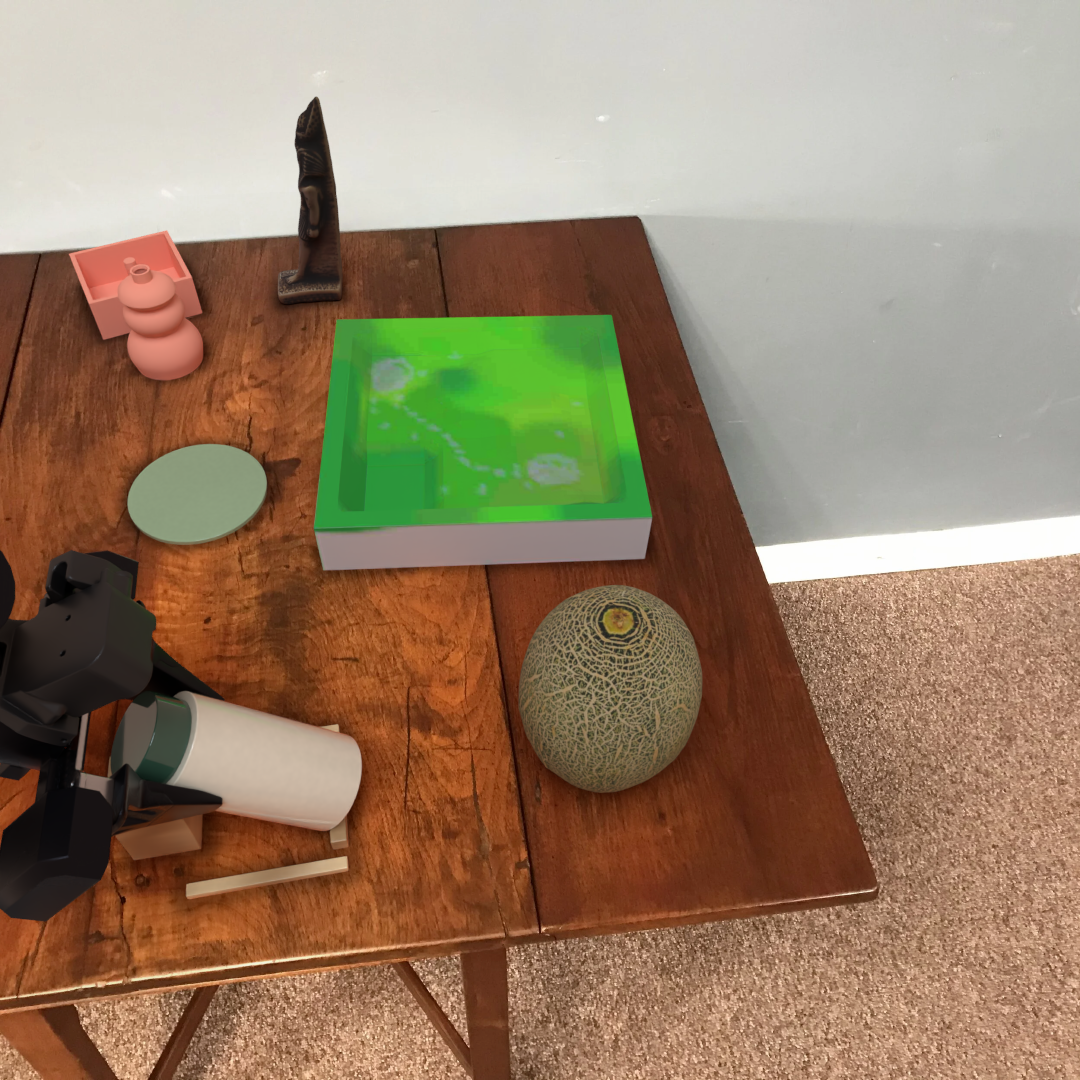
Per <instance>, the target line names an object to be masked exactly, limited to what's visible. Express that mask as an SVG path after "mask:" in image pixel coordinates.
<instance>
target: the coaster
mask: <svg viewBox="0 0 1080 1080" xmlns="http://www.w3.org/2000/svg"><path fill="white" fill-rule="evenodd" d="M267 494H268V478H267V475H266V471H265V470H264V467H263V466H262V464H261V463H260V462H259V461H258V459H256V458H255V457H254V456H253V455H252V454H250V453H249V452H247V451H245V450H243V449H241V448H238V447H235V446H231V445H227V444H221V443H204V444H203V443H201V444H194V445H193V444H192V445H189V446H184V447H181V448H178V449H175V450H173V451H170V452H168V453H166V454H163V455H162V456H160V457H158V458H157V459H155V460H154V461H152V462H151V463H149V464H148V465H147V466H146V467H145V468H144V469H143V470H141V471H140V473H139V474H138V475H137V476H136V477H135V479H134V481H133V482H132V484H131V486H130V489H129V491H128V496H127V504H126V505H127V512H128V515H129V516H130V519H131V521H132V522H133V524H134V526H135V527H136V528H137V529H138V530H139V531H140V532H141V533H143V534H144V535H145V536H147V537H149V538H150V539H153V540H156V541H158V542H161V543H164V544H169V545H175V546H176V545H178V546H190V545H191V546H193V545H200V544H206V543H210V542H213V541H217V540H219V539H222V538H225V537H227V536H229V535H231V534H233V533H235V532H236V531H238V530H240V529H242V528H243V527H244V526H246V524H248V523H249V522H251V520H252V519H254V517H256V515H257V514H258V512H259V511H260V510H261V508H262V507H263V505H264V502H265V500H266V498H267Z"/></svg>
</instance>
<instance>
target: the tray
mask: <svg viewBox="0 0 1080 1080" xmlns="http://www.w3.org/2000/svg"><path fill="white" fill-rule="evenodd" d="M335 322H336V323H335V332H334V340H333V349H332V359H331V367H330V377H329V384H328V385H329V387H328V394H327V405H326V414H325V421H324V422H325V423H324V431H323V441H322V450H321V460H320V469H319V475H318V476H319V477H318V485H317V486H318V487H317V495H316V505H315V511H314V513H315V514H314V522H313V532H314V536H315V541H316V544H317V549H318V553H319V557H320V562H321V567H322V570H323V571H345V570H346V571H347V570H348V571H349V570H373V569H400V568H401V569H402V568H432V567H454V566H455V567H457V566H483V565H484V566H485V565H510V564H512V565H513V564H538V563H561V562H562V563H565V562H593V561H594V562H597V561H622V560H624V561H625V560H626V561H627V560H645V559H646V555H647V548H648V543H649V537H650V532H651V527H652V521H653V513H652V509H651V504H650V500H649V494H648V488H647V483H646V479H645V473H644V469H643V463H642V459H641V453H640V447H639V445H638V439H637V434H636V428H635V424H634V420H633V419H634V418H633V414H632V409H631V405H630V399H629V394H628V389H627V384H626V380H625V379H626V378H625V375H624V374H625V373H624V369H623V365H622V359H621V354H620V349H619V344H618V339H617V334H616V329H615V325H614V319H613V315H612V314H581V315H580V314H578V315H577V314H576V315H524V316H523V315H520V316H516V315H515V316H467V317H466V316H464V317H462V316H460V317H406V318H404V317H403V318H402V317H401V318H399V317H398V318H397V317H396V318H350V319H349V318H347V319H346V318H345V319H344V318H343V319H336V321H335Z"/></svg>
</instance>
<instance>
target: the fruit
mask: <svg viewBox="0 0 1080 1080" xmlns="http://www.w3.org/2000/svg"><path fill="white" fill-rule="evenodd" d="M694 638H695V637H694V636H693V635H692V633H691V631H690V630H689V627H688V626H687V624H686V622H685V621H684V620H683V618H682V616H681V615H680V614H679V613H677V612H676V610H674V608H673V607H671V606H670V605H669V604H667V603H666V602H665V601H663V600H662V599H660V598H659V597H657V596H656V595H653V594H652V593H650V592H648V591H645V590H643V589H639V588H637V587H634V586H630V585H625V584H609V585H601V586H597V587H592V588H589V589H585V590H583V591H580V592H578V593H575V594H573V595H571V596H569V597H568V598H565V599H564V600H563V601H561V602H560V603H559V604H558V605H556V606H555V607H554V608H553V609H552V610H550V611H549V612H548V614H546V616H545V617H544V618H543V620H542V621H541V622H540V623H539V625H538V626H537V628H536V629H535V631H534V633H533V634H532V637H531V638H530V641H529V643H528V646H527V649H526V651H525V654H524V658H523V661H522V665H521V668H520V669H521V670H520V674H519V680H518V682H519V683H518V711H519V715H520V719H521V723H522V726H523V729H524V733H525V736H526V739H527V740H528V742H529V743H530V745H531V747H532V749H533V751H534V752H535V754H536V756H537V758H539V761H541V763H542V764H543V765H544V767H545V768H546V769H547V770H549V771H551V773H553V774H555V775H556V776H558V777H559V778H561V779H562V780H564V781H565V782H567V783H568V784H570V785H571V786H574V787H575V788H578V789H581V790H584V791H589V792H592V793H600V794H605V793H617V792H621V791H625V790H627V789H630V788H632V787H636V786H637V785H640V784H643V783H644V782H646V781H648V780H651V779H652V778H653V777H655V776H657V775H658V774H660V772H662V771H664V770H665V769H666V768H667V767H668V766H669V765H670V764H671V763H673V762H674V761H676V759H677V757H678V756H679V755H680V754H681V752H682V751H683V749H684V748H685V747H686V745H687V743H688V741H689V739H690V737H691V734H692V732H693V729H694V727H695V724H696V721H697V719H698V716H699V711H700V707H701V702H702V697H703V671H702V665H701V660H700V656H699V653H698V650H697V649H698V648H697V646H696V643H695V639H694Z"/></svg>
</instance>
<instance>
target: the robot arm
mask: <svg viewBox="0 0 1080 1080" xmlns="http://www.w3.org/2000/svg"><path fill="white" fill-rule="evenodd" d="M139 564H140V563H139V561H137V560H135V559H133V558H131V557H128V556H124V555H122V554H119V553H117V552H114V551H112V550H109V549H104V550H96V551H90V552H84V553H83V552H80V551H77V550H74V549H71V550H69V551H66V552H64V553H62V554H60V555H57V556H56V557H54V558H52V559H51V560H50V561H49V564H48V569H47V575H46V582H45V589H44V590H45V592H46V593H45V594H44V597H43V598H41V599H40V602H39V605H38V611H37V614H36V615H35V616H33V617H32V618H30V619H11V618H10V617H11V615H12V612H13V608H14V605H15V601H16V580H15V577H14V572H13V570H12V566H11V564H10V563H9V561H8V559H7V558H6V556H5V554H4V551H2V550H1V549H0V778H3V779H8V780H13V781H18V782H19V781H20V780H21V779H22V778H23V777H24V776H26V775H27V774H28V773H29V772H30V771H31V770H34V771H38V773H39V774H38V781H37V786H36V792H35V799H34V802H33V804H31V805H30V806H29V807H28V808H27V809H26V810H24V811H23V812H22V813H21V814H20V815H18V816H17V817H16V818H15V819H14V820H13V821H12V822H11V823H10V824H9V825H7V826H6V827H5V828H4V829H3V830H2V834H1V839H0V910H1V911H2V912H3V913H4V914H5V915H7V916H8V917H9V918H10V919H17V920H24V921H25V920H26V921H36V922H46V923H47V922H48V921H49V920H50V919H51V918H53V917H54V916H56V915H57V914H58V913H59V912H61V911H62V910H64V909H66V907H68V906H69V905H70V904H71V903H73V902H75V900H76V899H78V898H79V897H81V896H82V895H84V893H86V892H87V891H89V889H91V888H93V887H94V886H95V885H97V884H98V883H99V882H100V881H102V879H103V876H104V875H105V872H106V870H107V867H108V866H109V863H110V855H111V845H112V843H111V842H112V838H113V837H116V835H119V834H122V833H125V832H128V831H132V830H136V829H140V828H144V827H148V826H153V825H157V824H162V823H166V822H171V821H175V820H179V819H184V818H188V817H193V816H197V815H202V814H203V815H206V814H210V813H213V812H216V811H215V810H217V809H218V808H219V807H221V806H222V804H223V799H222V798H221V797H219V796H216V795H213V794H210V793H207V792H204V791H201V790H195V789H190V788H185V787H179V786H174V785H169V784H163V783H158V782H152V781H147V780H143V779H141V778H140V777H139V776H138V775H137V774H136V772H135V771H134V770H133V769H132V768H131V766H130V765H129V764H127V763H126V764H124V765H123V766H122V767H121V768H120V769H118V770H117V771H116V772H115V773H114V774H112V775H111V776H110V777H109V778H107V777H108V776H103V775H98V774H93V773H87V772H86V771H85V764H86V755H87V749H88V739H89V732H90V731H89V730H90V723H91V717H92V716H91V715H92V712H94V711H96V710H98V709H101V708H103V707H105V706H108V705H110V704H112V703H115V702H117V701H120V700H127V701H133V700H134V699H135V698H136V697H137V696H138V695H139V694H141V693H142V692H144V691H154V692H157V693H161V694H165V695H169V696H172V697H173V696H174V695H176V694H177V693H179V692H182V691H189V692H193V693H197V694H200V695H204V696H208V697H211V698H215V699H219V700H222V701H226V700H225V697H223V695H220V693H218V692H217V691H216V690H215V689H213V688H211V686H210V685H208V684H206V683H205V682H204V681H203V680H201V679H200V678H199V677H198V676H196V675H195V674H194V673H192V672H191V671H190V670H188V669H187V668H186V667H184V666H183V665H182V664H181V663H180V662H178V661H177V660H176V659H174V657H172V656H171V655H170V654H169V653H168V652H167V651H166V650H164V649H163V648H162V646H160V645H159V644H158V643H157V642H156V640H155V639H154V638H153V637H154V636H153V633H154V632H155V631H156V630H157V617H156V615H155V613H153V612H152V611H150V610H148V609H147V607H146V605H145V603H144V602H143V600H140V599H137V600H136V601H135V599H136V592H137V585H138V575H139V573H138V572H139Z"/></svg>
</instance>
